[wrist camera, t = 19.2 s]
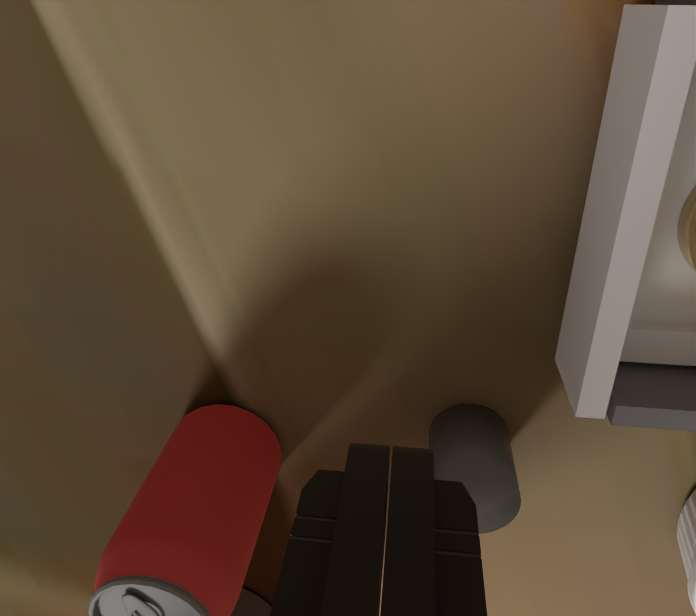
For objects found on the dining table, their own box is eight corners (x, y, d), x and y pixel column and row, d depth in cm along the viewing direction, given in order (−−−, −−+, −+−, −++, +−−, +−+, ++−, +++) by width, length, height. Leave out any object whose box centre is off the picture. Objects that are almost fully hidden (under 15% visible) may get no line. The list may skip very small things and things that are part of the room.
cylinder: (426, 462, 35) (426, 529, 31) (431, 401, 33) (432, 463, 29) (503, 468, 35) (514, 537, 30) (513, 407, 32) (527, 471, 28)
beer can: (251, 384, 34) (171, 559, 23) (302, 468, 36) (252, 661, 26) (157, 416, 36) (44, 591, 25) (212, 494, 38) (130, 683, 28)
